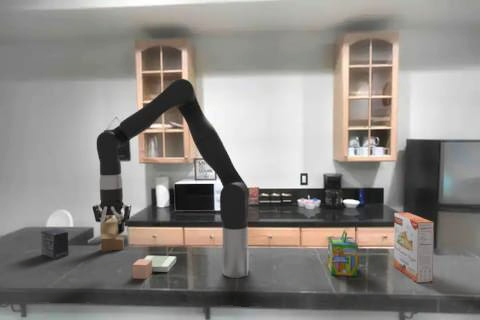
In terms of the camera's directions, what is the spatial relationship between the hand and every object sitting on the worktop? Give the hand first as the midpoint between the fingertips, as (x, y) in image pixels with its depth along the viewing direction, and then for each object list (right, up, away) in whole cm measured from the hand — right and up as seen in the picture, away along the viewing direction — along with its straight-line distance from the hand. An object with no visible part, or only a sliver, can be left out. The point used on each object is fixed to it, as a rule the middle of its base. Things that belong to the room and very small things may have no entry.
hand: (112, 233), depth 109 cm
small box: (-33, -14, +19) cm, 41 cm away
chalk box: (+84, -15, +1) cm, 85 cm away
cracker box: (+108, -14, -2) cm, 109 cm away
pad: (+14, -14, +7) cm, 21 cm away
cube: (+11, -15, -1) cm, 19 cm away
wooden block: (-11, -14, +26) cm, 32 cm away
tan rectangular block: (0, -1, 0) cm, 1 cm away
